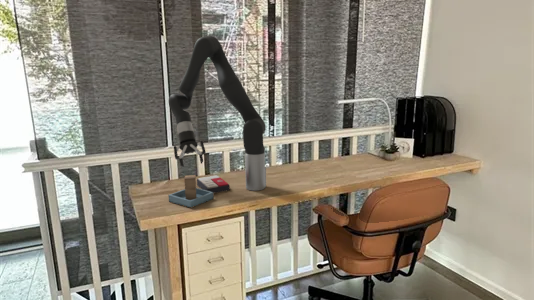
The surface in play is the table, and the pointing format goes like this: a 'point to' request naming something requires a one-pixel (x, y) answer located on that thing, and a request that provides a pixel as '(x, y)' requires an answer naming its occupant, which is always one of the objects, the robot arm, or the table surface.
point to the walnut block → (190, 187)
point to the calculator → (213, 184)
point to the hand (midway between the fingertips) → (192, 165)
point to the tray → (181, 199)
